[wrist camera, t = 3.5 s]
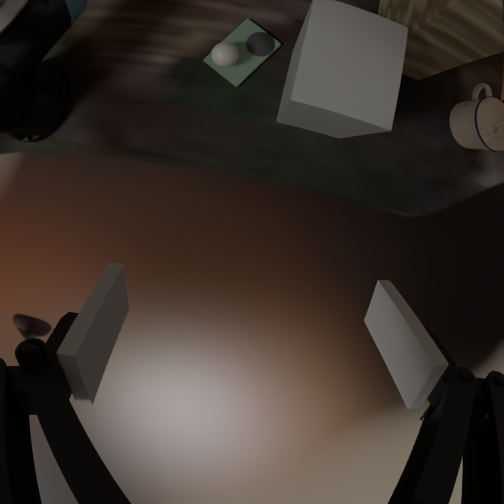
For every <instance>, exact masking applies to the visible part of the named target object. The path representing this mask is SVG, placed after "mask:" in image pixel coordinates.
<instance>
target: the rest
mask: <svg viewBox="0 0 504 504" xmlns="http://www.w3.org/2000/svg"><path fill="white" fill-rule="evenodd" d="M407 34H408V28H407V27H405V26H403V25H401V24H398V23H396V22H393V21H391V20H389V19H386V18H384V17H381V16H379V15H376V14H373V13H371V12H368V11H365V10H362V9H359V8H357V7H354V6H351V5H348V4H344V3H341V2H338V1H335V0H313V1H312V3H311V6H310V8H309V11H308V13H307V16H306V19H305V21H304V24H303V26H302V29H301V31H300V34H299V37H298V39H297V42H296V44H295V47H294V50H293V53H292V57H291V61H290V65H289V69H288V74H287V78H286V82H285V86H284V91H283V95H282V99H281V103H280V108H279V112H278V116H277V121H276V122H279V123H284V124H288V125H292V126H296V127H300V128H303V129H307V130H311V131H315V132H318V133H322V134H326V135H329V136H333V137H336V138H344V137H351V136H357V135H364V134H371V133H378V132H386V131H391V129H392V124H393V119H394V114H395V109H396V104H397V98H398V93H399V87H400V81H401V75H402V69H403V63H404V56H405V49H406V41H407Z"/></svg>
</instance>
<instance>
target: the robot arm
mask: <svg viewBox="0 0 504 504" xmlns="http://www.w3.org/2000/svg"><path fill="white" fill-rule="evenodd" d="M86 5H87V0H0V133H5V134H7V135H9V136H11V137H13V138H14V139H16V140H18V141H21V142H38V141H41V140H43V139H45V138H47V137H48V136H50V135H51V134H52V133H53V132H54V131H55V130H56V129H57V127H58V126H59V124H60V123H61V121H62V120H63V118H64V115H65V113H66V110H67V107H68V103H69V97H70V86H69V81H68V78H67V76H66V74H65V72H64V71H63V70H62V69H61V68H60V67H59V66H57V65H54V64H52V63H48V62H41V61H42V59H43V58H44V57H45V56H46V54H47V53H48V52H49V51H50V49H51V48H52V47H53V46H54V45H55V44H56V42H57V41H58V40H59V39H60V38H61V37H62V36H63V34H64V33H65V32H66V31H67V30H68V29H69V28H70V27H71V26H72V25H73V24H74V21H75V20H76V19H77V18H78V17H79V15H80V14H81V13H82V12H83V11H84V9H85V8H86ZM128 310H129V304H128V295H127V286H126V276H125V265H124V264H120V263H110V264H109V266H108V267H107V269H106V270H105V272H104V273H103V275H102V276H101V278H100V279H99V281H98V283H97V284H96V286H95V287H94V289H93V291H92V292H91V294H90V296H89V297H88V299H87V300H86V302H85V304H84V305H83V307H82V309H81V311H80V312H79V313H73V312H68V313H67V314H66V315H64V316H63V317H62V318H61V319H60V320H59V322H58V324H57V325H56V328H54V330H53V332H52V334H51V335H50V337H49V338H48V340H47V342H46V343H44V341H42V340H40V339H36V338H31V339H27V340H25V341H23V342H21V343H20V344H19V345H18V346H17V348H16V350H15V356H16V358H17V360H18V363H19V365H20V366H6V363H5V362H4V360H3V359H1V358H0V504H42V503H41V498H40V493H39V488H38V484H37V478H36V472H35V466H34V459H33V451H32V444H31V434H30V423H29V415H37V416H38V419H39V422H40V424H41V427H42V429H43V432H44V434H45V436H46V439H47V441H48V444H49V446H50V448H51V450H52V453H53V455H54V457H55V459H56V461H57V463H58V465H59V468H60V470H61V471H62V474H63V475H64V477H65V479H66V481H67V483H68V485H69V487H70V489H71V491H72V492H73V494H74V496H75V498H76V500H77V502H78V503H79V504H131V503H130V502H129V500H128V499H127V497H126V496H125V495H124V493H123V492H122V490H121V489H120V487H119V486H118V485H117V483H116V482H115V480H114V479H113V477H112V476H111V474H110V472H109V471H108V469H107V468H106V466H105V465H104V463H103V461H102V460H101V458H100V456H99V455H98V453H97V451H96V450H95V448H94V446H93V444H92V443H91V441H90V439H89V437H88V436H87V434H86V432H85V430H84V428H83V426H82V425H81V423H80V421H79V419H78V417H77V415H76V413H75V411H74V409H73V407H72V405H71V403H70V401H69V399H70V396H71V394H73V397H74V399H75V401H76V402H80V403H85V404H90V405H93V402H94V399H95V396H96V393H97V391H98V388H99V385H100V382H101V379H102V377H103V374H104V371H105V368H106V365H107V363H108V360H109V358H110V355H111V353H112V350H113V347H114V345H115V342H116V340H117V337H118V335H119V332H120V330H121V327H122V325H123V322H124V320H125V318H126V315H127V313H128ZM364 322H365V323H366V325H367V327H368V329H369V331H370V333H371V335H372V337H373V339H374V341H375V343H376V345H377V347H378V349H379V351H380V353H381V355H382V357H383V359H384V361H385V363H386V365H387V367H388V369H389V371H390V373H391V375H392V377H393V379H394V381H395V383H396V386H397V387H398V390H399V392H400V394H401V396H402V398H403V400H404V402H405V405H406V407H407V409H408V410H409V409H415V408H420V407H422V406H423V404H424V403H425V401H426V400H427V399H428V400H429V402H430V406H429V407H428V408H427V410H426V411H425V413H424V414H423V416H422V417H421V418H420V420H422V419H423V418H424V419H423V422H422V425H421V428H420V431H419V434H418V436H417V439H416V441H415V444H414V446H413V449H412V452H411V454H410V456H409V459H408V461H407V464H406V466H405V468H404V470H403V473H402V475H401V477H400V479H399V482H398V484H397V486H396V488H395V490H394V492H393V494H392V496H391V498H390V500H389V502H388V504H448V503H449V501H450V497H451V494H452V492H453V488H454V485H455V482H456V478H457V475H458V471H459V467H460V464H461V460H462V456H463V475H462V498H461V504H504V375H503V374H502V373H500V372H497V371H491V372H490V373H489V374H488V376H487V377H486V378H485V379H484V378H476V377H475V376H474V374H473V373H472V372H471V371H470V370H469V369H467V368H465V367H458V366H457V365H456V363H455V362H454V360H453V359H452V357H451V356H450V354H449V353H448V351H447V350H446V349H445V348H444V345H443V344H442V343H441V341H440V340H439V338H438V337H437V336H436V334H435V333H433V332H432V331H431V330H430V329H429V328H424V327H423V325H422V324H421V322H420V321H419V320H418V318H417V317H416V315H415V314H414V313H413V311H412V310H411V308H410V307H409V306H408V304H407V303H406V302H405V300H404V299H403V298H402V296H401V295H400V293H399V292H398V291H397V290H396V288H395V287H394V285H393V284H392V283H391V281H388V280H378V282H377V285H376V288H375V291H374V294H373V297H372V300H371V303H370V306H369V309H368V312H367V315H366V317H365V320H364Z"/></svg>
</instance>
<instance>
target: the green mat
mask: <svg viewBox="0 0 504 504" xmlns="http://www.w3.org/2000/svg"><path fill="white" fill-rule="evenodd" d="M222 42H229V43H232V44H233V45H235V46H236V48H237V49H238V53H239V56H238V59H237V61H236V62H235V63H234V64H233V65H231V66H229V67H221V66H218V65H216V64H215V63H214V62H213V60H212V57H211V53H212V52H211V53H210V54H209V55H208V56H207V57H206V58H205V59H204V60H203V61H204V62H205V63H207V64H208V65H209V66H210V67H212V68H213V69H214V70H216V71H217V72H218V73H219V74H221V75H222V76H223V77H224V78H226V79H227V80H228V81H229V82H230V83H232V84H233V85H234V86H235V87H238V86H239V85H240V84H241V83H242V82H243V81H244V80H245V79H246V78H247V77H248V76H249V75H250V74H251V73H252V72H253V71H254V70H255V69H256V68H257V67H258V66H259V65H260V64H261V63H263V62H264V61H265V60H266V59H267V58H268V57H269V56H270V55H271V54H272V53H273V52H274V51H275V50H276V49H278V48H279V47H280V46H281V44H280V43H279V42H278V41H277V40H275V39H274V38H273V37H272V36H270V35H269V34H268V33H266V32H265V31H264V30H262V29H261V28H260V27H258V26H257V25H256V24H254V23H253V22H252V21H250V20H249V19H246V20H245V21H244V22H243V23H242V24H241V25H240V26H238V27H237V28H236V29H235V30H234V31H233V32H232V33H231V34H230V35H229V36H228V37H226V38H225V39H224V40H223V41H222ZM222 42H221V43H222Z"/></svg>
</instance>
